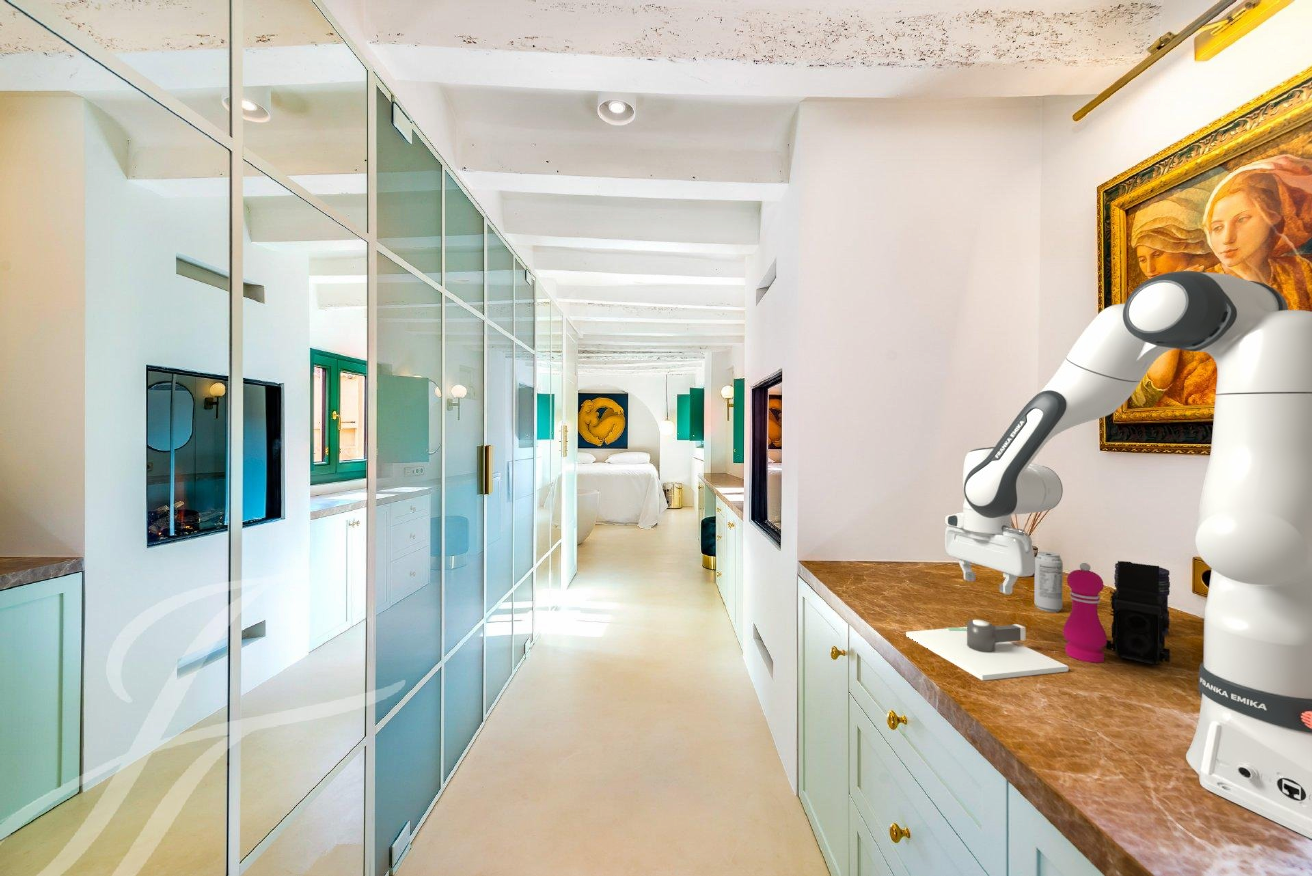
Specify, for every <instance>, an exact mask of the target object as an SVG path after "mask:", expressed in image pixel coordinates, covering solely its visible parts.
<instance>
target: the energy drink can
mask: <svg viewBox="0 0 1312 876" xmlns="http://www.w3.org/2000/svg"><path fill="white" fill-rule="evenodd" d="M1034 558H1035V573H1034V588H1033V589H1034V596H1033V597H1034V598H1033V599H1034V602H1033V603H1034V605H1035V606H1036V608H1037V609H1038V610H1041V611H1043V612H1048V613H1060V610H1062V609H1063V583H1064V581H1063V579H1064V578H1063V571H1064V570H1063V560H1062V558H1061V556H1060V554H1059V553H1055V552H1049V551H1038V552H1037V554H1036V556H1034Z"/></svg>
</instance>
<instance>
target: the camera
mask: <svg viewBox="0 0 1312 876" xmlns="http://www.w3.org/2000/svg"><path fill="white" fill-rule="evenodd" d="M1117 563H1118V576H1117V591H1116V589H1114V590H1113V591H1112V590H1110V591H1109V594H1111V596H1110V599H1109V602H1110V614H1109V616H1112V623H1111V638H1112V641H1111V640H1110V639H1109V640H1108V639H1107V644H1106V645H1105V648H1106V650H1110V651H1111V650H1112V652H1113V653H1115V654H1117V657H1118V658H1122V659H1126V660H1131V661H1136V662H1140V663H1145V664H1148V665H1154V666H1157V665H1158V663H1164V662H1166V663H1170V662H1171V650H1170V648H1165V645H1166V644H1165V641H1166V640H1165V638H1166V636H1164V633H1163V631H1165V628H1168V630H1169V629H1170V624H1169V623H1170V622H1169V620H1168V619H1165V616H1164V615H1163V614H1165V615H1166V614H1167V609H1163V605H1165V602H1167V600H1166V599H1165V600H1164V599H1163V600H1162V597H1159V567H1160V565H1155V564H1154V565H1153V564H1145V565H1144V563H1135V562H1132V561H1126V560H1125V561H1123V560H1117ZM1164 607H1165V608H1166V605H1165V606H1164Z"/></svg>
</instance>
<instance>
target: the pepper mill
mask: <svg viewBox="0 0 1312 876" xmlns="http://www.w3.org/2000/svg"><path fill="white" fill-rule="evenodd" d="M1091 569H1092V568H1091V565H1090V564H1089V563H1087V562H1082V563H1080V564H1079V569H1075V570H1072V571H1071V572H1069V574H1068V575H1067V578H1066V583H1067V586H1068V587H1069V588H1070V591H1069V593H1070V595H1069V598H1070V599H1071V601H1072V605H1071V607H1072V608H1071V612H1070V613H1069V616H1068V618H1067V619H1066V620H1065V623H1064V625H1063V628H1062V636H1063V637H1064V639H1065V640H1066V641H1067V643H1066V644H1065V653H1066V655H1067V656H1069V657H1070V658H1073V659H1076V660H1079V661H1080V662H1081V661H1082V662H1086V663H1093V664H1094V663H1096V664H1097V663H1103V662H1104V661H1105V660H1104V658H1105V657H1104V655H1105V652H1104V651H1103V650H1102V649H1103V648H1104V647H1106V644H1107V640H1108V639H1107V638H1108V636H1107V633H1106V631H1105V628H1104V627H1103V625H1102V623H1101V621H1100V618H1099V614H1098V604H1099V603H1101V600H1100V599H1101V595H1100V594H1099V593H1101V592H1102V591H1103V590H1104V585H1105V584H1104V581H1103V578H1102V577H1101V576H1100V575H1099V574H1098V573H1096V572H1094V571H1092V570H1091Z"/></svg>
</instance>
